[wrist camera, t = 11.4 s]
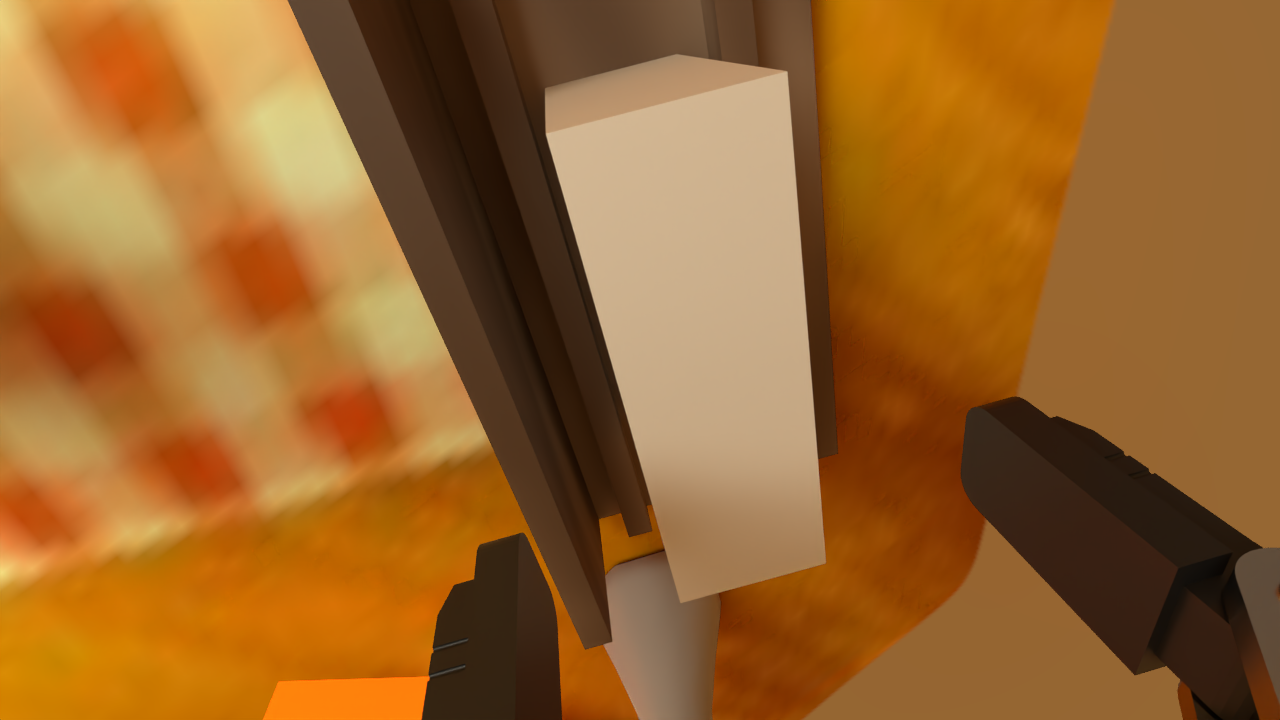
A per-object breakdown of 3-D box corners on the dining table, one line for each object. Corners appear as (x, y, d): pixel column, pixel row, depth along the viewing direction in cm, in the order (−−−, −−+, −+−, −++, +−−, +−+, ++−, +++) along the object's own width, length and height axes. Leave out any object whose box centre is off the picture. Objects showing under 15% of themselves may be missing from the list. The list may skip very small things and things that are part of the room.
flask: (741, 598, 32) (814, 804, 24) (633, 657, 33) (665, 875, 25) (673, 526, 29) (730, 737, 20) (556, 595, 30) (562, 823, 21)
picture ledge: (575, 501, 27) (585, 649, 20) (352, -75, 16) (219, -150, 9) (823, 433, 27) (911, 559, 21) (777, -185, 16) (937, -334, 9)
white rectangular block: (738, 383, 23) (836, 560, 15) (634, 411, 23) (680, 603, 15) (686, 51, 17) (805, 66, 9) (544, 88, 17) (545, 134, 9)
